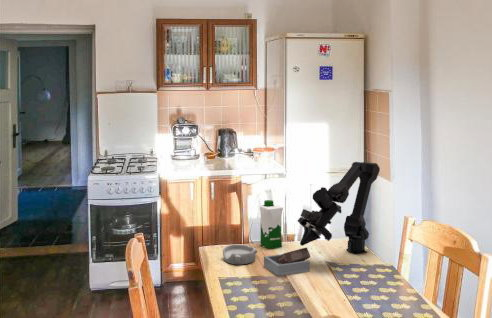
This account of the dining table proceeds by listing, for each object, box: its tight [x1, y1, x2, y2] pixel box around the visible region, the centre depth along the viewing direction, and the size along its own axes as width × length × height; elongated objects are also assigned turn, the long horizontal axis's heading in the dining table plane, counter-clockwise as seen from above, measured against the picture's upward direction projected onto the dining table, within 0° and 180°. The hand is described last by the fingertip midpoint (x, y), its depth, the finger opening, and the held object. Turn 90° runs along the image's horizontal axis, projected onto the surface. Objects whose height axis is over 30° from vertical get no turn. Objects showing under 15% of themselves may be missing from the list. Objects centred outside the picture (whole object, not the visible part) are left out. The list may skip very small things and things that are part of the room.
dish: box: [222, 243, 258, 266], centre depth 232 cm, size 14×14×5 cm
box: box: [276, 247, 312, 265], centre depth 220 cm, size 6×4×12 cm
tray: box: [263, 253, 311, 277], centre depth 220 cm, size 14×12×4 cm
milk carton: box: [259, 199, 284, 250], centre depth 249 cm, size 9×9×20 cm
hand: (300, 244), depth 221 cm, fingers closed
